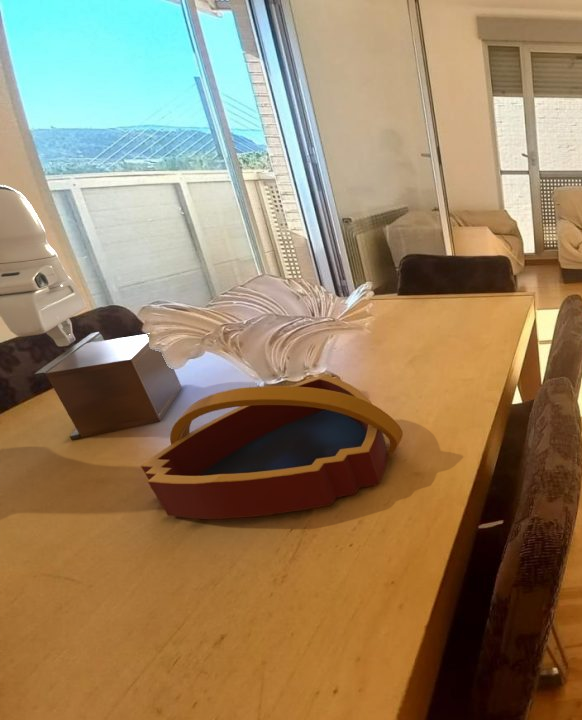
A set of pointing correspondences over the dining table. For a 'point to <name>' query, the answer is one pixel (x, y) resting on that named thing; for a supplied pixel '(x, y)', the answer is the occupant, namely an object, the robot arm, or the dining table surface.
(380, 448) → the decorative basket
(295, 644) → the dining table surface
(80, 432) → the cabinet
